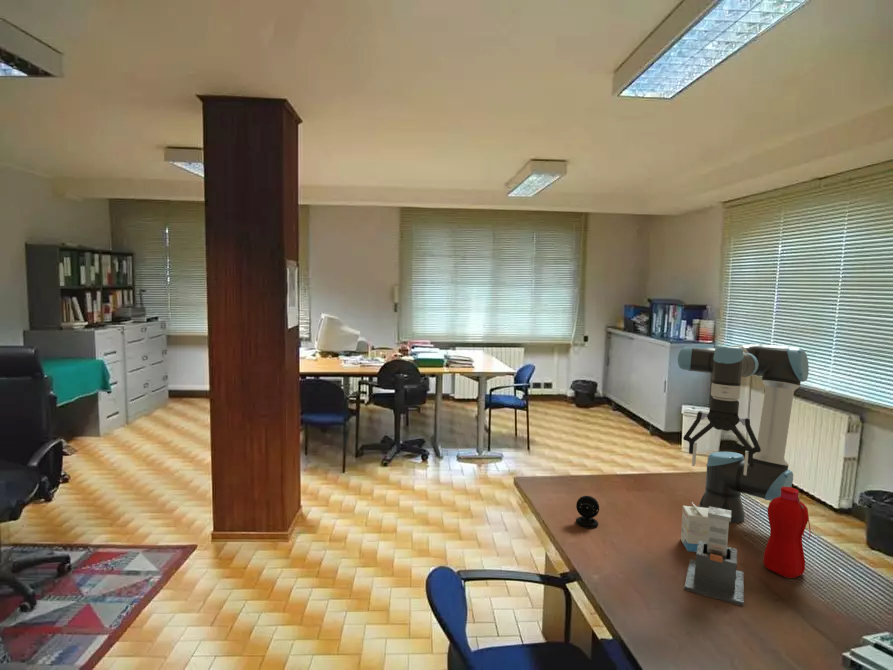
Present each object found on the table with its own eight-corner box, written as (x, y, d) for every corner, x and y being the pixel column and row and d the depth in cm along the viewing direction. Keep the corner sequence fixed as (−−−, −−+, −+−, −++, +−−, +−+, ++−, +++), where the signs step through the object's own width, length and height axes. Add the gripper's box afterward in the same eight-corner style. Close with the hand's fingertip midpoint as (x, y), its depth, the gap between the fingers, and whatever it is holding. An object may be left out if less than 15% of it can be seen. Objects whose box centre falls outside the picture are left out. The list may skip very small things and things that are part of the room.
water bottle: (796, 585, 147) (804, 498, 145) (758, 566, 157) (764, 485, 155) (815, 577, 152) (822, 493, 150) (776, 560, 161) (783, 481, 159)
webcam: (573, 526, 181) (575, 497, 180) (576, 517, 188) (578, 490, 187) (597, 530, 178) (598, 501, 177) (599, 522, 185) (601, 494, 184)
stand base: (690, 561, 158) (692, 529, 158) (743, 575, 152) (745, 541, 151) (684, 589, 143) (686, 554, 142) (743, 606, 136) (746, 569, 135)
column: (704, 571, 151) (709, 506, 150) (726, 576, 148) (731, 510, 147) (703, 580, 146) (708, 513, 145) (725, 586, 143) (731, 517, 142)
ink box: (715, 554, 164) (718, 512, 163) (686, 551, 165) (689, 509, 164) (707, 542, 172) (710, 502, 171) (680, 539, 174) (682, 499, 173)
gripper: (677, 394, 157) (671, 463, 159) (775, 406, 145) (768, 481, 146) (680, 391, 164) (674, 458, 165) (774, 402, 151) (767, 475, 153)
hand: (718, 469), depth 156 cm, fingers open, 13 cm apart
